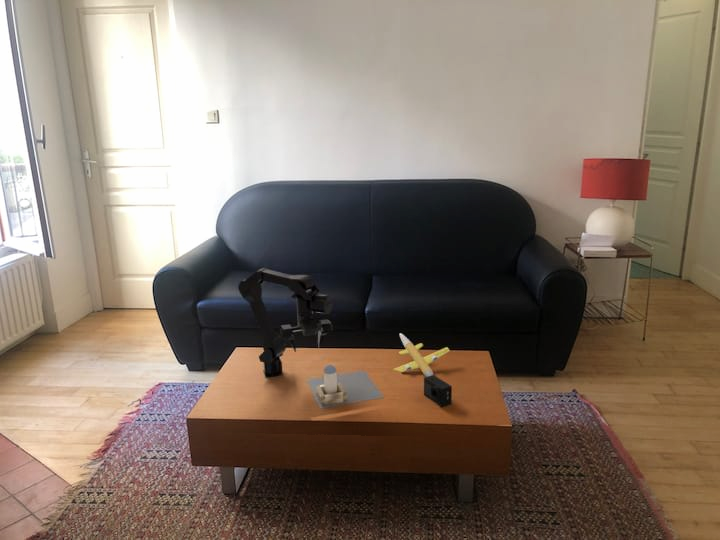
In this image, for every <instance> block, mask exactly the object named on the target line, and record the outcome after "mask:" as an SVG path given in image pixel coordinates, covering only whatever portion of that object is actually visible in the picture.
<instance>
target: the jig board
mask: <svg viewBox="0 0 720 540" xmlns="http://www.w3.org/2000/svg"><path fill="white" fill-rule="evenodd" d="M305 380H306V383H307V385H308V386H309V388H310V391H311V392H312V394H313V397H314V398H315V400H316V403H317V405H318V406H319V409H321V410H322V409H326V408H332V407H338V406H344V405H349V404H354V403H360V402H367V401H372V400H377V399H382V398H383V399H384V398H385V397H384V395H383V394H382V392H381V391H380V390H379V388H378V387H377V385H376V384H375V383H374V382H373V380H372V379H371V378H370V376H369V375H368V374H367V372H366V371H365V370H356V371H351V372H345V373H339V374H338V373H337V383H341V384H342V386H343V387H344V389H345V390H346V392H347V400H344V401H343V402H339V403H334V404H328V405H326V404H322V405H321V403H320V401H319V399H318V397H317V395H316V387H317V386H319V385H323V384H324V376H320V377H315V378H314V377H312V378H308V379H305ZM337 393H338V392H337ZM324 395H325V394H324Z"/></svg>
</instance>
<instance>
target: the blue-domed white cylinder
mask: <svg viewBox="0 0 720 540" xmlns="http://www.w3.org/2000/svg"><path fill="white" fill-rule="evenodd" d="M337 375H338V373H337V368H336V367H335V365H333V364H328V365H326V366H325V367H324V369H323V377H324V386H325V395H327V394H333V393H337Z"/></svg>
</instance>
